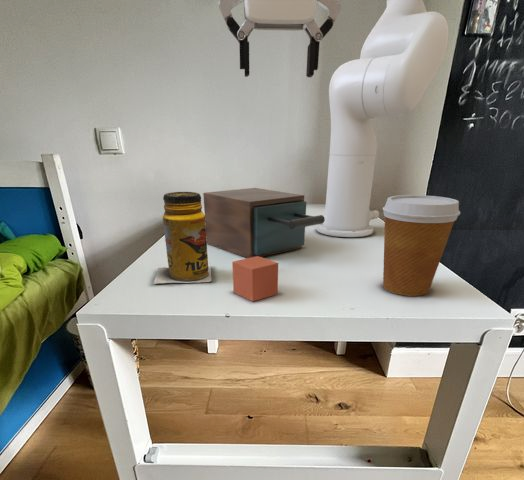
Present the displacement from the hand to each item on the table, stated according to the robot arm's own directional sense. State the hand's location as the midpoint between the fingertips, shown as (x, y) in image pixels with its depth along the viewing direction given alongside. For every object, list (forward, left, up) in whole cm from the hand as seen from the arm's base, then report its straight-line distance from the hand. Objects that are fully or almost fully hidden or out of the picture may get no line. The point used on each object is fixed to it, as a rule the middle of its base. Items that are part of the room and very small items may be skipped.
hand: (278, 75), depth 59 cm
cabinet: (0, -7, -27) cm, 28 cm away
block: (+16, +14, -27) cm, 34 cm away
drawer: (0, -2, -26) cm, 26 cm away
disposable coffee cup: (-2, +26, -27) cm, 38 cm away
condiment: (+20, +1, -27) cm, 34 cm away
